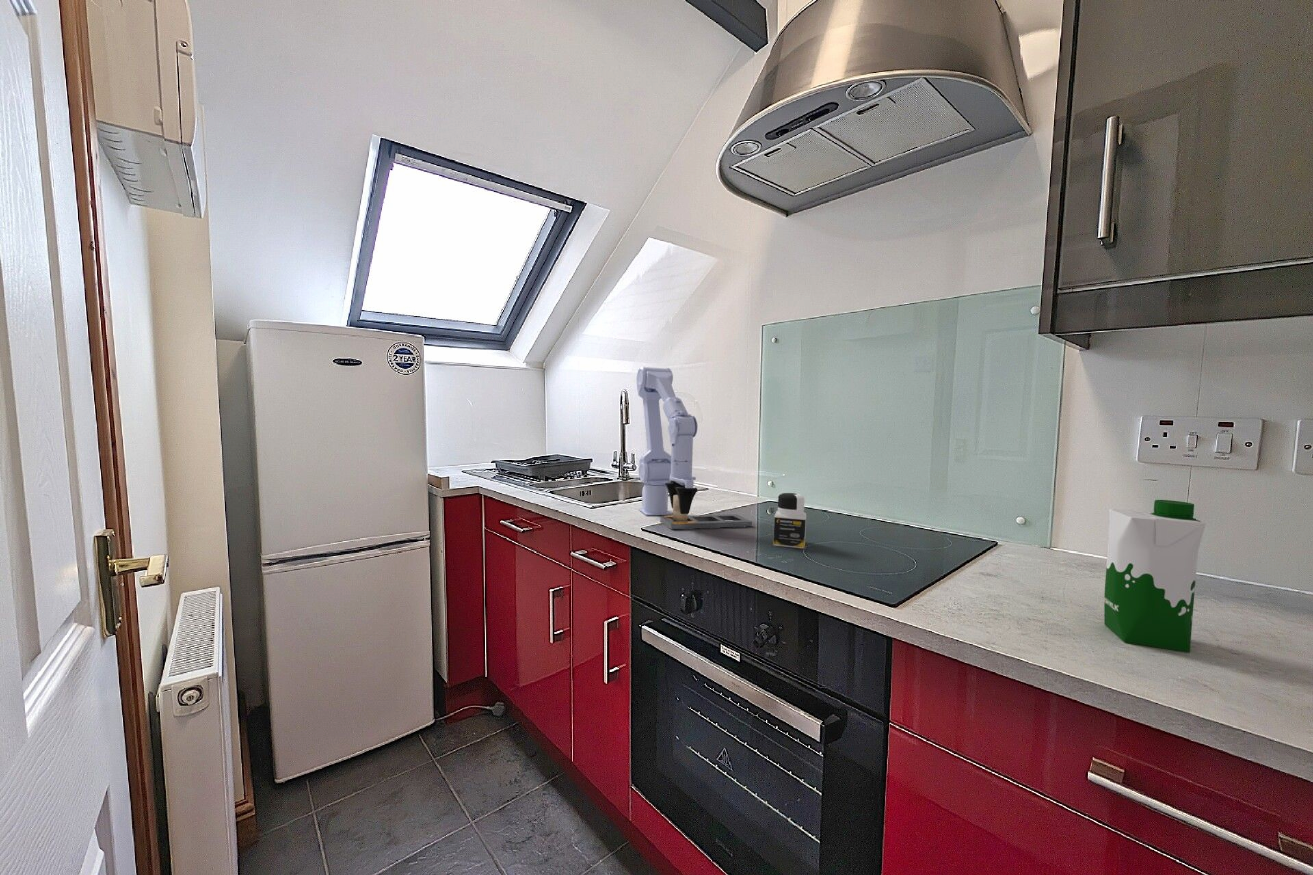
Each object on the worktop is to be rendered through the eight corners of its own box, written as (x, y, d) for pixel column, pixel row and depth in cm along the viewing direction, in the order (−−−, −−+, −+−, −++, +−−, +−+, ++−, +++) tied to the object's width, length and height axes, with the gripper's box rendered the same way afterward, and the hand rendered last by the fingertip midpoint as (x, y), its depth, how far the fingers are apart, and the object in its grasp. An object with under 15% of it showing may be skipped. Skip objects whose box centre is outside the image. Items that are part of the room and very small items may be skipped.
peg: (670, 523, 143) (671, 494, 142) (684, 523, 144) (685, 494, 144) (675, 527, 139) (676, 497, 139) (689, 526, 140) (690, 497, 140)
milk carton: (1202, 657, 70) (1215, 508, 69) (1117, 643, 73) (1128, 502, 72) (1168, 632, 78) (1179, 499, 77) (1093, 621, 81) (1102, 493, 80)
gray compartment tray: (660, 521, 145) (660, 515, 145) (736, 519, 151) (736, 513, 151) (671, 529, 136) (671, 523, 135) (751, 526, 142) (752, 520, 142)
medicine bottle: (772, 545, 122) (775, 494, 122) (775, 538, 129) (777, 490, 129) (804, 548, 120) (806, 497, 120) (805, 541, 127) (807, 492, 127)
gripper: (705, 463, 135) (703, 515, 135) (686, 458, 149) (685, 505, 149) (679, 463, 133) (677, 516, 133) (663, 458, 147) (661, 506, 147)
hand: (680, 510), depth 141 cm, fingers open, 7 cm apart
